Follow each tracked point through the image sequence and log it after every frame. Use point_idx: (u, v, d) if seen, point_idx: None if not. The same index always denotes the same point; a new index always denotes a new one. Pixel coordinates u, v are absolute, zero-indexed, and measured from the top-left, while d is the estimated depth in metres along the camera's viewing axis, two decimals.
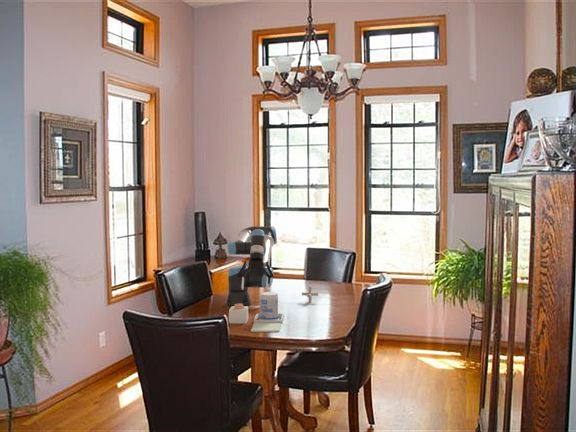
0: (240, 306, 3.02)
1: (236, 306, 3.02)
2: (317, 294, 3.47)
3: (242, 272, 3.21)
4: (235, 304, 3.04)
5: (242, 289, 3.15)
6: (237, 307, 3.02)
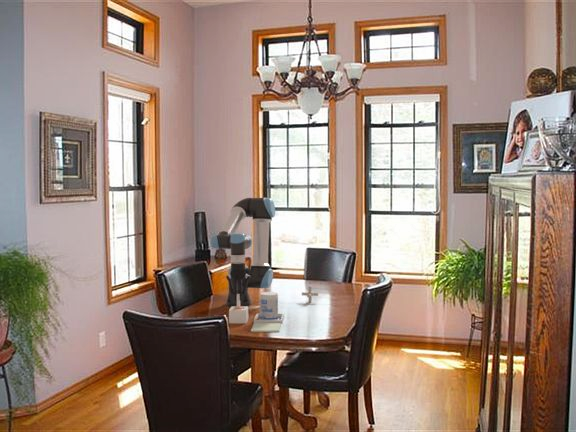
0: None
1: None
2: (317, 294, 3.47)
3: (232, 285, 3.04)
4: (235, 307, 3.04)
5: None
6: None
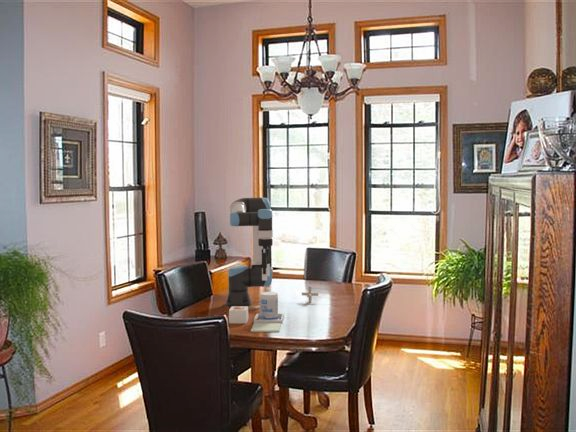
0: None
1: None
2: (317, 294, 3.47)
3: (268, 256, 3.10)
4: (235, 307, 3.04)
5: (268, 276, 3.10)
6: None
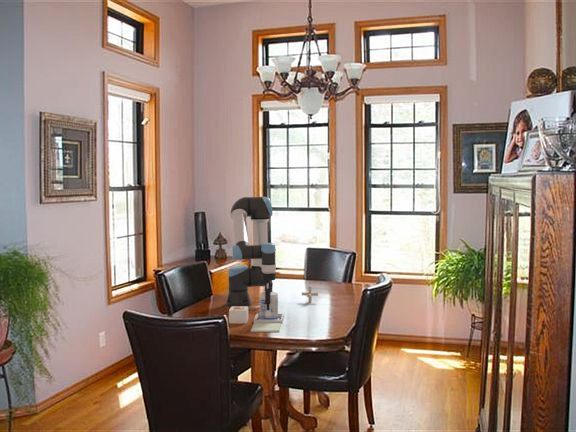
0: None
1: None
2: (317, 294, 3.47)
3: None
4: (235, 307, 3.04)
5: None
6: None
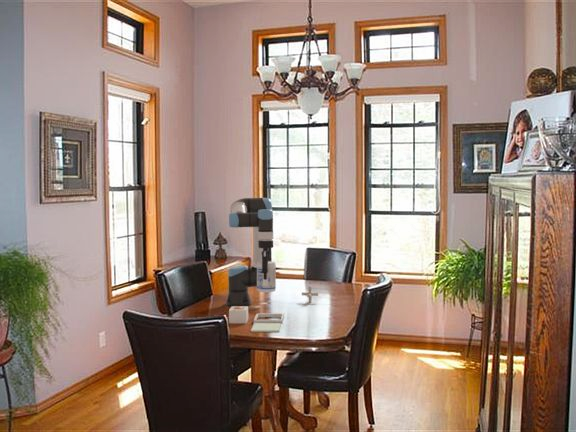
0: None
1: None
2: (317, 294, 3.47)
3: None
4: (235, 307, 3.04)
5: None
6: None
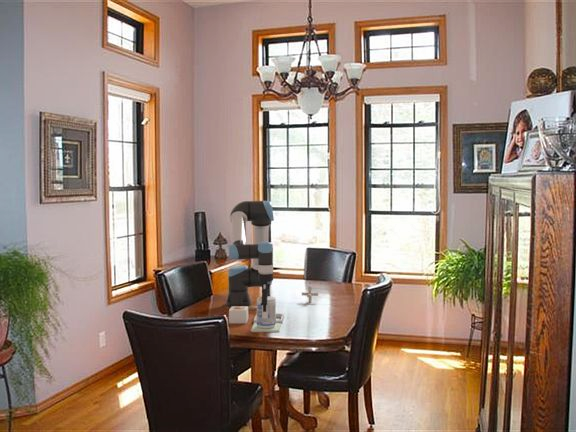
0: None
1: None
2: (317, 294, 3.47)
3: (269, 291, 2.96)
4: (235, 307, 3.04)
5: None
6: None
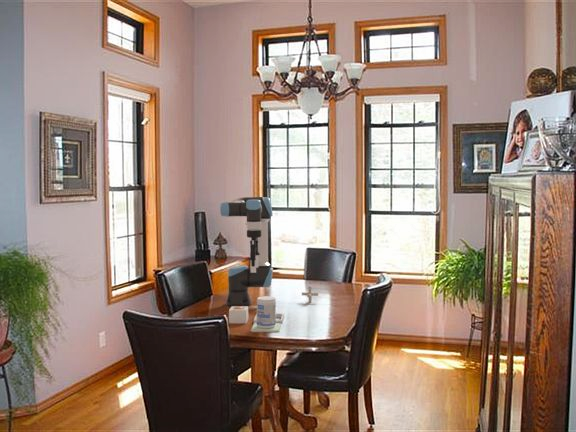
0: None
1: None
2: (317, 294, 3.47)
3: (257, 247, 3.05)
4: (235, 307, 3.04)
5: (257, 267, 3.05)
6: None
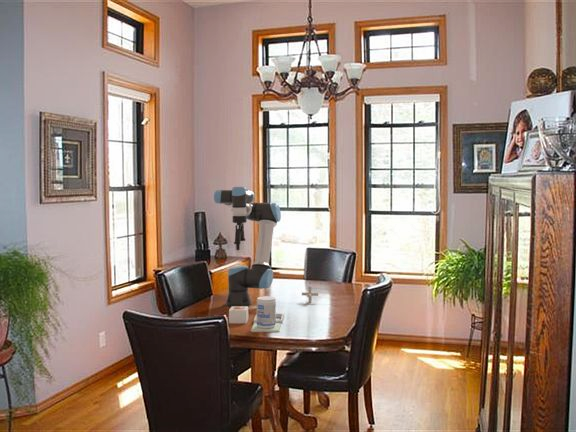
0: None
1: None
2: (317, 294, 3.47)
3: (243, 233, 3.17)
4: (235, 307, 3.04)
5: (243, 252, 3.17)
6: None
